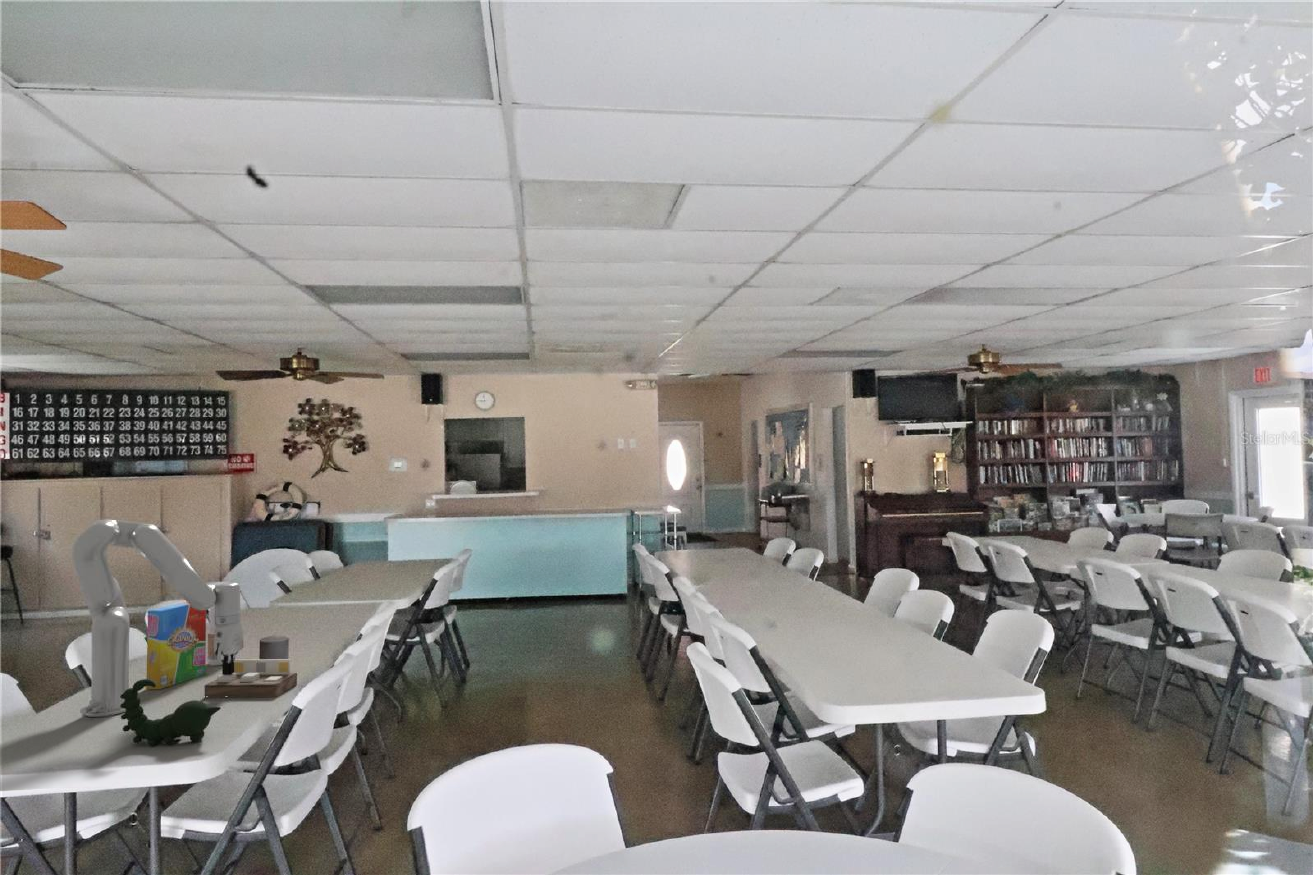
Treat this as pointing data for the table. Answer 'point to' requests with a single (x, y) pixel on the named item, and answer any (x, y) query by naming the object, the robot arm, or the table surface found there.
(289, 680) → the button board
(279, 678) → the right button
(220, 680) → the left button
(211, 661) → the fruit juice
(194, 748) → the table surface
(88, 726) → the table surface
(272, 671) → the card
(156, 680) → the game box
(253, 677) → the middle button
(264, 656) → the pillar candle
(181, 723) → the toy figurine
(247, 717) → the table surface
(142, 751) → the table surface
